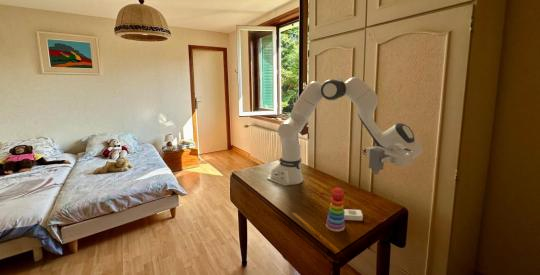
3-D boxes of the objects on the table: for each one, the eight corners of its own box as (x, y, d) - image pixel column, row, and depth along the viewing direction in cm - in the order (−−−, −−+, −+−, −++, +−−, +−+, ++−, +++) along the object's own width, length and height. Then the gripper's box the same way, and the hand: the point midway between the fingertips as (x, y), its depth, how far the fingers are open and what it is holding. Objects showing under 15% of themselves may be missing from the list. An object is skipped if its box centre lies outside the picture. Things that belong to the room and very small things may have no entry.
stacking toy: (336, 236, 103) (338, 194, 98) (321, 227, 109) (323, 187, 104) (348, 229, 107) (351, 188, 102) (333, 220, 113) (335, 182, 109)
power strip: (336, 221, 113) (337, 214, 112) (335, 215, 117) (335, 208, 116) (362, 223, 111) (362, 215, 110) (359, 216, 116) (360, 209, 115)
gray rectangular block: (374, 170, 118) (376, 147, 115) (382, 173, 114) (384, 150, 111) (368, 172, 116) (370, 149, 113) (376, 175, 112) (378, 151, 109)
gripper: (377, 141, 127) (358, 146, 121) (417, 152, 109) (396, 158, 103) (377, 153, 129) (357, 158, 122) (415, 166, 111) (394, 172, 105)
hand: (375, 158), depth 113 cm, fingers closed on gray rectangular block, 4 cm apart
